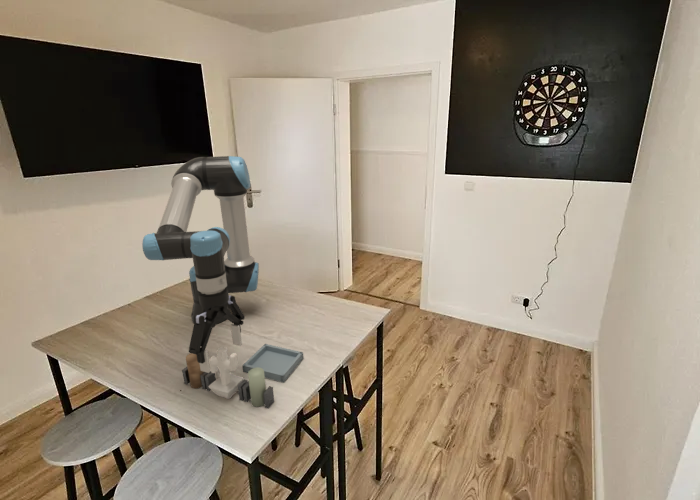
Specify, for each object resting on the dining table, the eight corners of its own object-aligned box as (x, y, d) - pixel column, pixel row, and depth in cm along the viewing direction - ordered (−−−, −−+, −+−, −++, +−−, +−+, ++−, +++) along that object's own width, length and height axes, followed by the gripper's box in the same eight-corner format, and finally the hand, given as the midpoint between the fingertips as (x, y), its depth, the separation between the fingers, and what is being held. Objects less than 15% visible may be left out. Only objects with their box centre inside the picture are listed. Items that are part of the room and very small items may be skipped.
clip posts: (184, 383, 112) (181, 370, 111) (191, 377, 115) (189, 364, 113) (268, 408, 102) (267, 394, 101) (274, 401, 105) (272, 387, 103)
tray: (243, 371, 118) (242, 365, 117) (265, 349, 129) (265, 343, 128) (283, 382, 112) (283, 375, 112) (303, 358, 124) (303, 352, 123)
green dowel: (248, 404, 104) (244, 375, 100) (257, 394, 108) (253, 366, 104) (261, 408, 102) (258, 379, 99) (270, 398, 106) (267, 369, 103)
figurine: (223, 380, 114) (217, 339, 109) (248, 388, 110) (243, 346, 105) (206, 395, 107) (199, 352, 102) (232, 404, 104) (225, 360, 99)
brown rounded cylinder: (187, 386, 111) (182, 358, 108) (198, 377, 115) (193, 350, 112) (199, 390, 110) (194, 362, 106) (209, 380, 114) (204, 353, 110)
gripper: (189, 311, 85) (201, 387, 92) (252, 274, 107) (258, 337, 114) (164, 307, 88) (178, 380, 94) (231, 271, 110) (238, 332, 117)
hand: (222, 357), depth 104 cm, fingers open, 13 cm apart
